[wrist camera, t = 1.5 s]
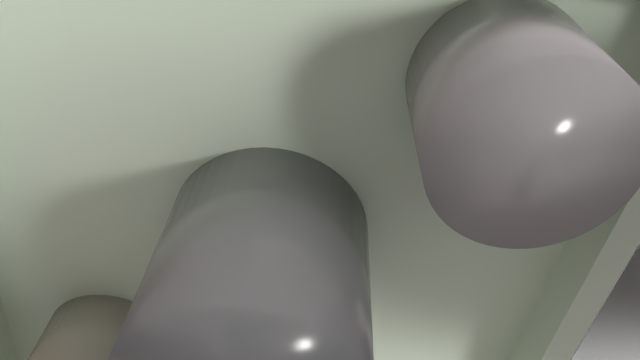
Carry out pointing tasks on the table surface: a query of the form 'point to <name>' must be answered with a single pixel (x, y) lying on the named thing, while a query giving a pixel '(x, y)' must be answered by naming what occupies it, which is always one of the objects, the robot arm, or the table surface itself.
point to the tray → (272, 132)
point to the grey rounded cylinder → (256, 267)
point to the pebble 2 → (521, 124)
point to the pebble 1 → (82, 329)
